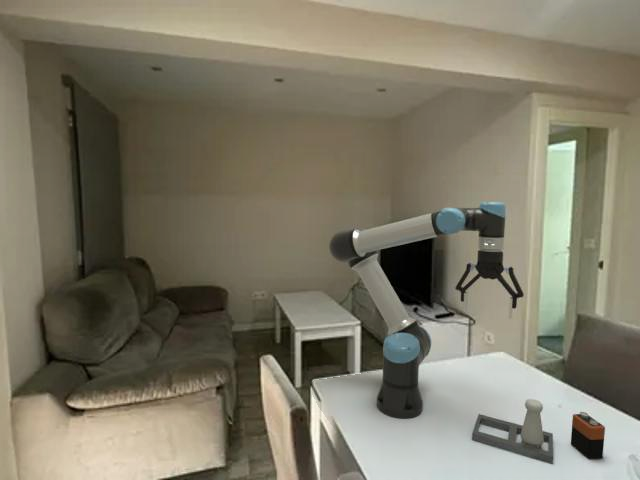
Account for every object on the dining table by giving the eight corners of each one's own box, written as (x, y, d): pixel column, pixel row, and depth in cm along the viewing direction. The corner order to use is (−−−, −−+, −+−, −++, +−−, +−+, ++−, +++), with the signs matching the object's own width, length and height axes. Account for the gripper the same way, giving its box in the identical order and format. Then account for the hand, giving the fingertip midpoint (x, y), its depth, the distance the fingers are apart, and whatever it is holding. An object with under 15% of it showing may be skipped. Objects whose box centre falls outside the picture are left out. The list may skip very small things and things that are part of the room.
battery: (583, 443, 110) (586, 410, 109) (603, 459, 103) (606, 423, 102) (569, 444, 109) (572, 410, 108) (588, 459, 103) (591, 424, 102)
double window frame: (471, 439, 111) (472, 433, 111) (478, 419, 121) (478, 413, 121) (552, 464, 101) (553, 457, 101) (552, 440, 111) (552, 433, 111)
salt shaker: (546, 453, 105) (549, 408, 104) (523, 450, 106) (526, 405, 105) (538, 440, 111) (541, 397, 110) (517, 438, 112) (519, 395, 111)
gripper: (448, 248, 127) (445, 311, 129) (534, 254, 114) (530, 323, 116) (452, 246, 133) (450, 306, 135) (535, 251, 121) (530, 317, 123)
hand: (487, 314), depth 126 cm, fingers open, 13 cm apart
